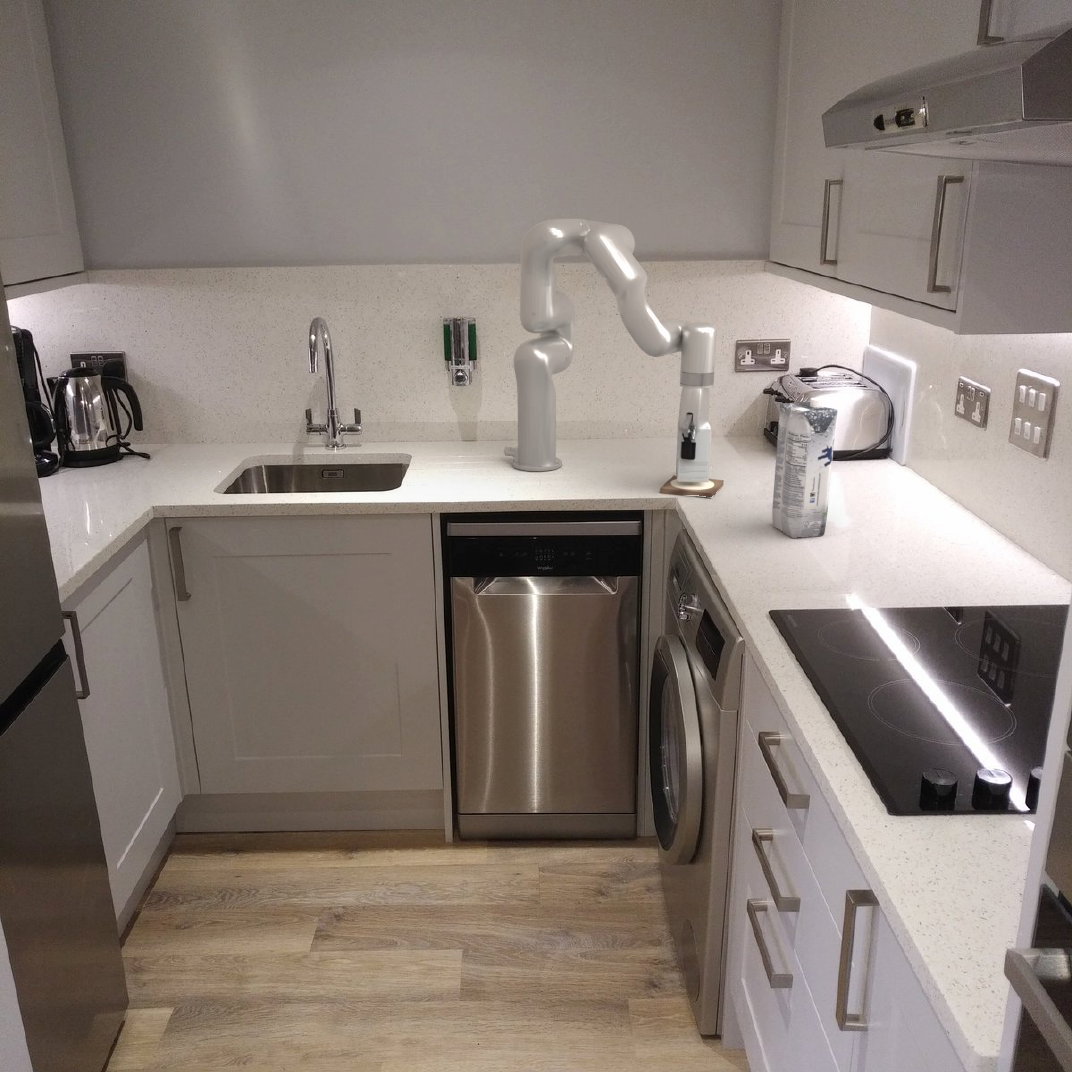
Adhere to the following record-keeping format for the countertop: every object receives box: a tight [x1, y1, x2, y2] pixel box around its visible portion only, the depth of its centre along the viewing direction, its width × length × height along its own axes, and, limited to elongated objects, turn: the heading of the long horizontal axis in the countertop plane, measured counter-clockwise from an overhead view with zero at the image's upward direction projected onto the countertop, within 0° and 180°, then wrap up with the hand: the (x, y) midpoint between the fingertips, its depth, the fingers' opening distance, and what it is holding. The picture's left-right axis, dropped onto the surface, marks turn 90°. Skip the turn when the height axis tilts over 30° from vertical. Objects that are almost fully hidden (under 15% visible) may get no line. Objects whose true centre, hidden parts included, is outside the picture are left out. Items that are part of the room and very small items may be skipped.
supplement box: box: [675, 421, 712, 482], centre depth 232 cm, size 7×7×13 cm
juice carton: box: [771, 397, 838, 539], centre depth 201 cm, size 9×10×27 cm
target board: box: [659, 474, 724, 497], centre depth 235 cm, size 12×12×1 cm
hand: (692, 454), depth 232 cm, fingers closed on supplement box, 8 cm apart
